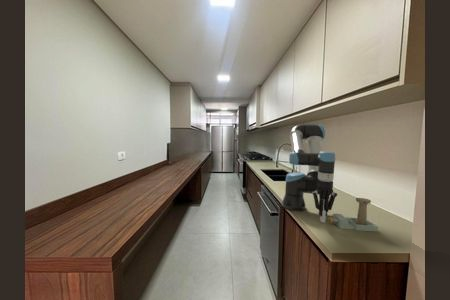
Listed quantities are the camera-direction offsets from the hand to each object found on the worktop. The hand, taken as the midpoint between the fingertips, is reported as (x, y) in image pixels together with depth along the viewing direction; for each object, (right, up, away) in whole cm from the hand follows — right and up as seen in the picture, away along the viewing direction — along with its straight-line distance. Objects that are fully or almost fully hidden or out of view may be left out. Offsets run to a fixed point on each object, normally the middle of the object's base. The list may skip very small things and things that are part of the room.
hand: (322, 221), depth 101 cm
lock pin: (+7, -1, -1) cm, 7 cm away
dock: (+16, -2, -2) cm, 16 cm away
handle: (+20, -2, -2) cm, 20 cm away
